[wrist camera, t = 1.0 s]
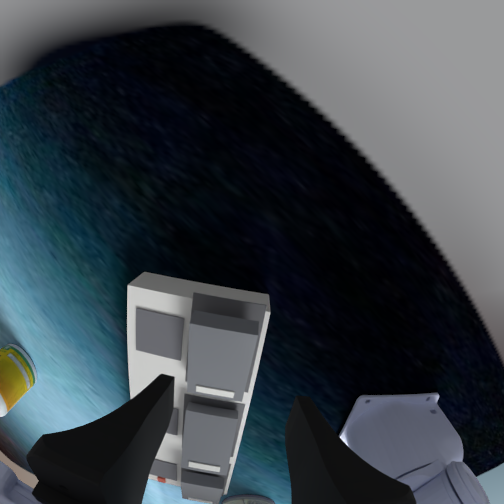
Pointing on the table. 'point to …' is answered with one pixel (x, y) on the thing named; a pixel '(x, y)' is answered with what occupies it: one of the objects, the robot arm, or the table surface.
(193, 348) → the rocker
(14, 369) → the supplement bottle
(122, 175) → the table surface
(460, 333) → the table surface
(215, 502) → the rocker
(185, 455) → the rocker
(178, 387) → the power strip
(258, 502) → the aerosol can
